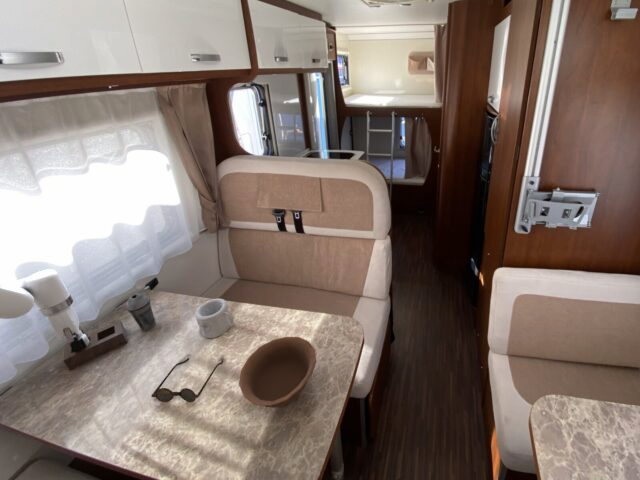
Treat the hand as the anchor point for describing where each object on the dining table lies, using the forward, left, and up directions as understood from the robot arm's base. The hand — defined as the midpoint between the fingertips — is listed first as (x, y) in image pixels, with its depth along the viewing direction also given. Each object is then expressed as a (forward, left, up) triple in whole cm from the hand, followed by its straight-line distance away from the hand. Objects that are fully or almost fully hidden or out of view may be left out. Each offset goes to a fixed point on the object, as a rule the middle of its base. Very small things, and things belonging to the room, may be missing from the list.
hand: (80, 344), depth 107 cm
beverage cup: (+19, -1, -5) cm, 19 cm away
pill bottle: (0, 0, -3) cm, 3 cm away
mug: (+39, -23, -5) cm, 45 cm away
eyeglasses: (+26, -39, -5) cm, 47 cm away
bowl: (+46, -64, -5) cm, 79 cm away
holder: (+4, 0, -5) cm, 6 cm away
